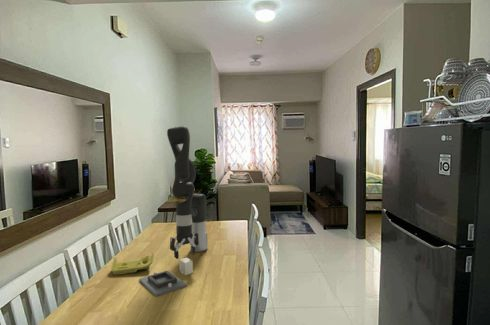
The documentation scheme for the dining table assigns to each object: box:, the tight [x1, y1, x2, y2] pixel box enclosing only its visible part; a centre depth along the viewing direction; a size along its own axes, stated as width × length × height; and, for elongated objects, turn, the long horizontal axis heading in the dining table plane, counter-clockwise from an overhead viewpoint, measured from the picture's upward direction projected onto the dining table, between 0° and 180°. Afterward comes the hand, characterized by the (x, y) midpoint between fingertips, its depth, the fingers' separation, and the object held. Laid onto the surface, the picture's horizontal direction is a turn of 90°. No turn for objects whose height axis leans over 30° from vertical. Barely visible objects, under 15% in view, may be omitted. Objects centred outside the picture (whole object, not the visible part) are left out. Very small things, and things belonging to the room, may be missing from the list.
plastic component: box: [111, 252, 155, 275], centre depth 151 cm, size 20×7×10 cm
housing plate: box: [138, 270, 187, 297], centre depth 135 cm, size 14×19×3 cm
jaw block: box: [178, 257, 194, 276], centre depth 147 cm, size 4×6×6 cm, turn 39°
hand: (184, 256), depth 146 cm, fingers open, 8 cm apart
